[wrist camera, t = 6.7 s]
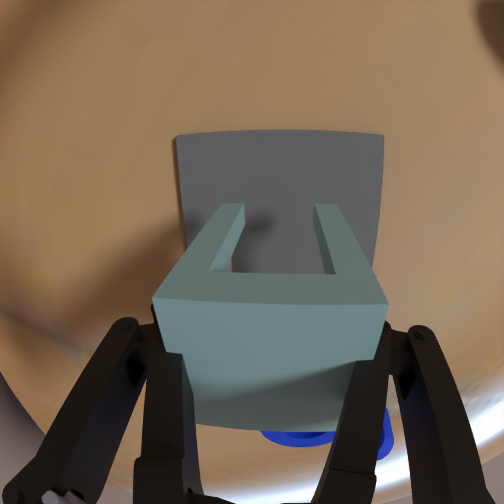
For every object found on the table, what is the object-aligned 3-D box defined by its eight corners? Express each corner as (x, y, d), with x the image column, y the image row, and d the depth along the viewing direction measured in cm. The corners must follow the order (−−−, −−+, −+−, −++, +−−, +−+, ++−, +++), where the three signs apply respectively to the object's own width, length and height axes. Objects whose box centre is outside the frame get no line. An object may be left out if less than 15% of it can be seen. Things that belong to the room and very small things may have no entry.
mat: (178, 135, 21) (175, 136, 21) (381, 135, 20) (384, 135, 19) (198, 305, 28) (196, 308, 28) (362, 309, 26) (363, 312, 26)
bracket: (249, 373, 32) (240, 426, 25) (308, 332, 28) (310, 391, 22) (348, 428, 36) (352, 470, 29) (399, 400, 32) (410, 445, 25)
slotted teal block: (222, 203, 18) (151, 297, 9) (336, 204, 18) (389, 304, 8) (229, 298, 21) (190, 422, 12) (327, 301, 21) (346, 430, 11)
